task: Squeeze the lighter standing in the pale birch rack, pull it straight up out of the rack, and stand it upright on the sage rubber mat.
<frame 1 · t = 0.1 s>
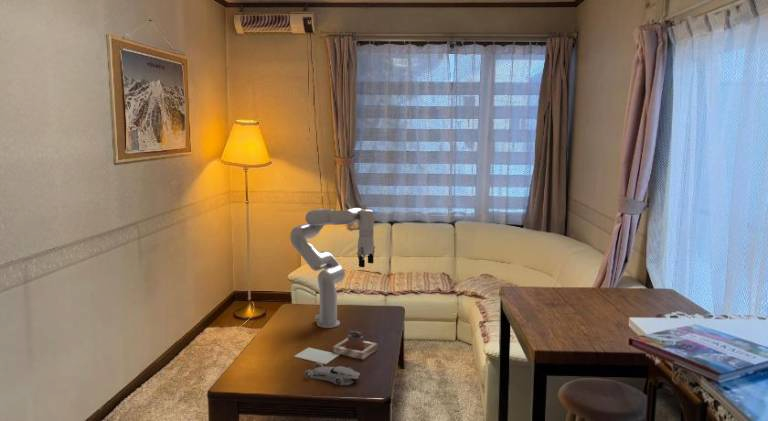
hand: (366, 265, 281), 37 cm above the table, tool pointing down, fingers open, 9 cm apart
mat: (316, 356, 254), on the table
lighter: (355, 351, 260), resting in slot holder
slot holder: (355, 351, 260), on the table
car model: (333, 378, 232), on the table
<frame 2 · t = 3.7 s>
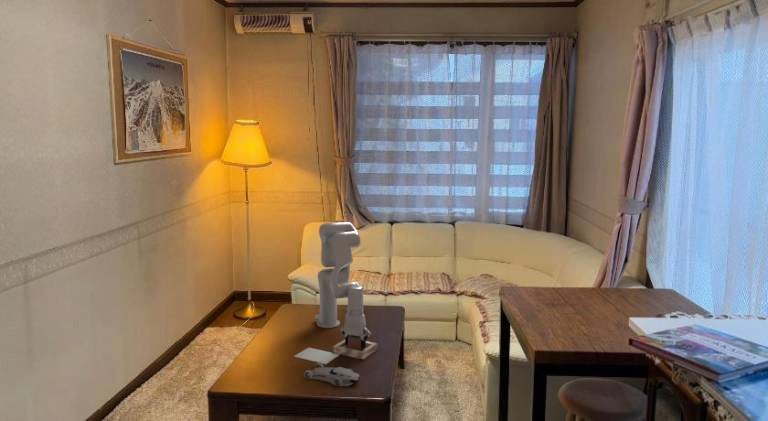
hand: (355, 345, 260), 3 cm above the table, tool pointing down, fingers closed on lighter, 8 cm apart
lighter: (355, 351, 260), resting in slot holder, touching gripper
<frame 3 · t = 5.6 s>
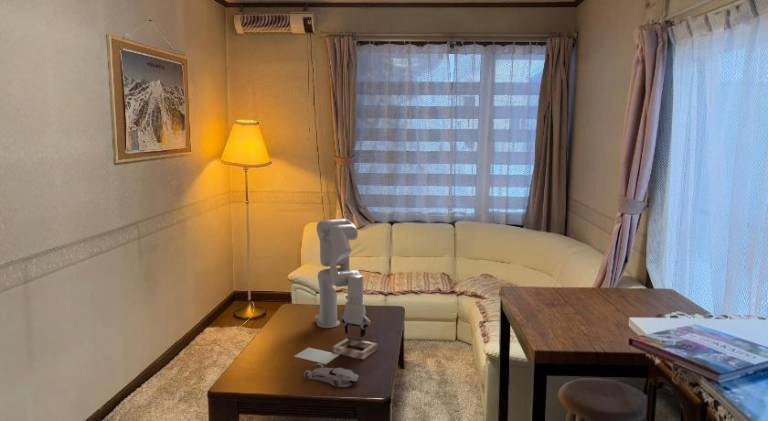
hand: (355, 334, 260), 8 cm above the table, tool pointing down, fingers closed on lighter, 8 cm apart
lighter: (354, 339, 260), point 5 cm above the table, touching gripper
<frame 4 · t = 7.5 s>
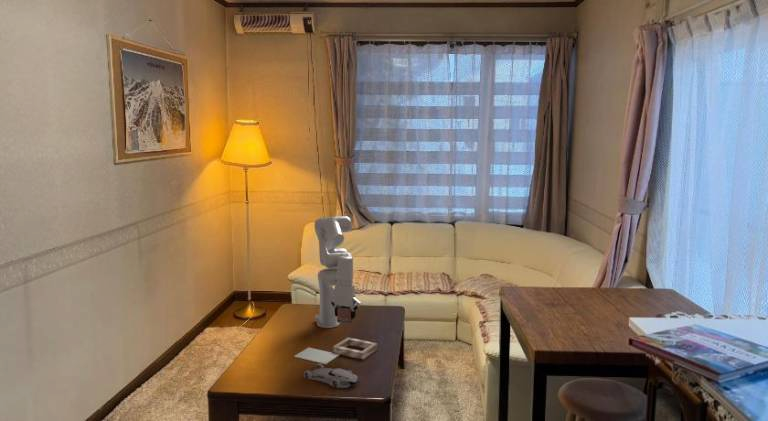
hand: (345, 316, 256), 18 cm above the table, tool pointing down, fingers closed on lighter, 8 cm apart
lighter: (345, 322, 257), point 15 cm above the table, touching gripper
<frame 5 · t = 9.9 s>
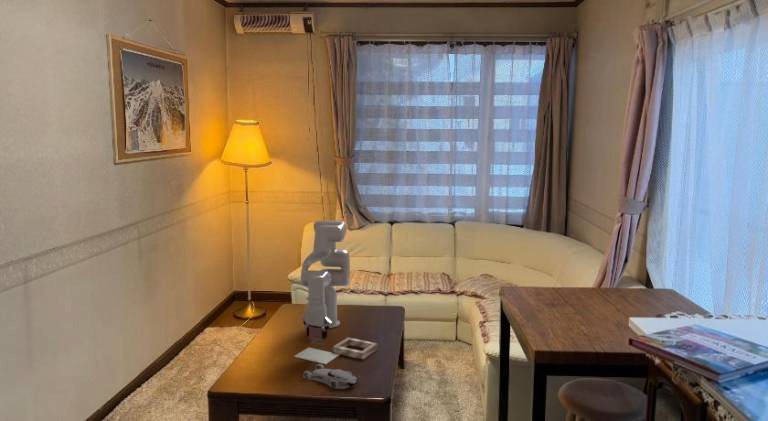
hand: (316, 336, 252), 10 cm above the table, tool pointing down, fingers closed on lighter, 8 cm apart
lighter: (316, 342, 253), point 7 cm above the table, touching gripper
when the fingers open (4 cm above the table, at t = 11.6 s): lighter moves 1 cm, resting on mat.
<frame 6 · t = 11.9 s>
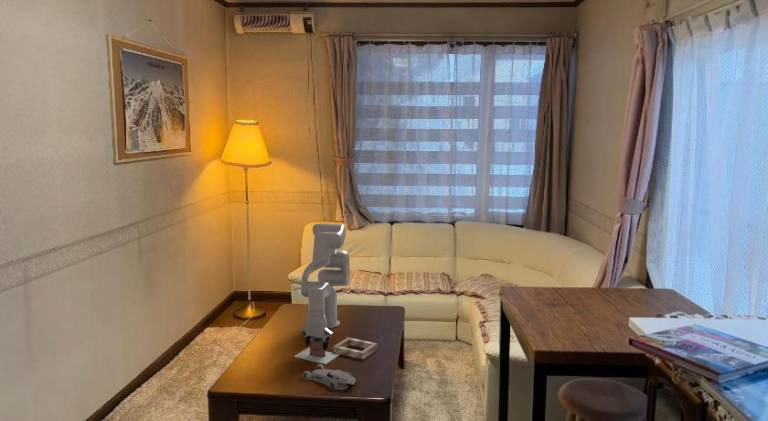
hand: (316, 347, 253), 5 cm above the table, tool pointing down, fingers open, 9 cm apart
lighter: (317, 355, 254), resting on mat
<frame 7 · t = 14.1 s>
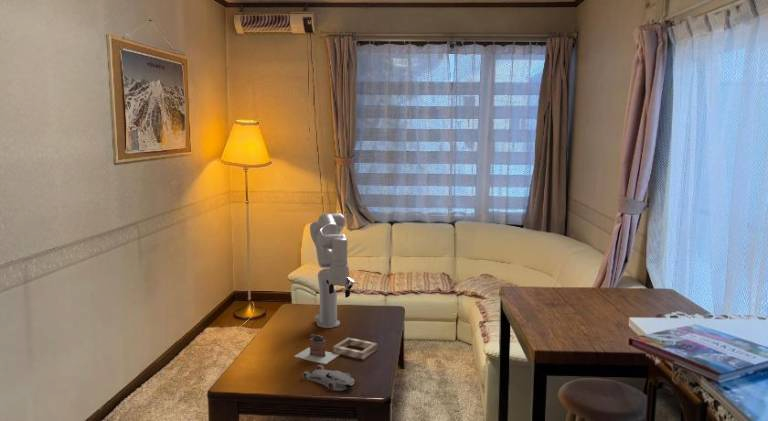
hand: (339, 295, 268), 25 cm above the table, tool pointing down, fingers open, 9 cm apart
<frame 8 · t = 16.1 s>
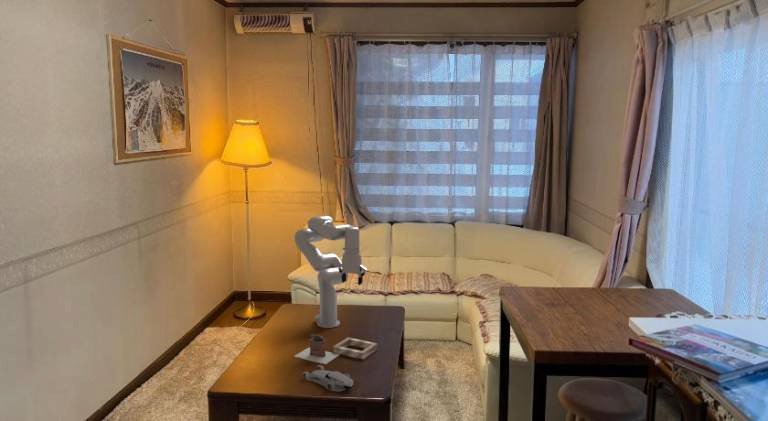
hand: (352, 283, 277), 28 cm above the table, tool pointing down, fingers open, 9 cm apart
at the end: lighter inside the target area on the mat (0.4 cm from its centre), point 0.2 cm above the mat's base; lighter tilted 0°; the gripper is holding nothing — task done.
